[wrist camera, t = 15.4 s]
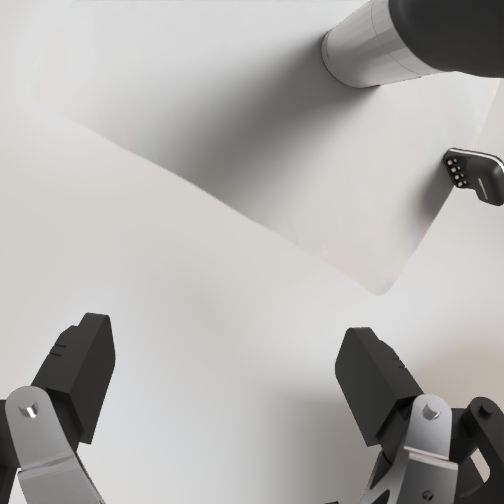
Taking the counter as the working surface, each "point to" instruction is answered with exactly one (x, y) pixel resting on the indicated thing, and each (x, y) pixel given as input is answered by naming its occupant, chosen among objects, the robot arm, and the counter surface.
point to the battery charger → (477, 174)
